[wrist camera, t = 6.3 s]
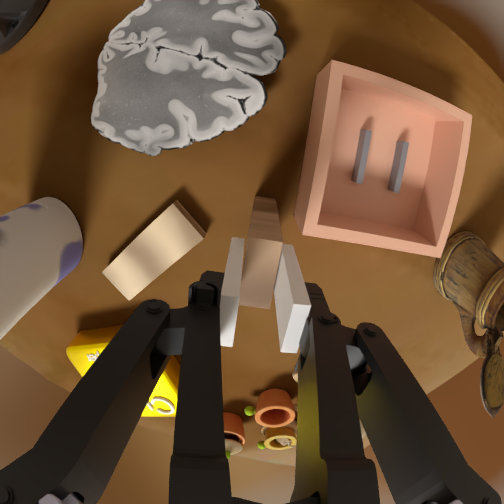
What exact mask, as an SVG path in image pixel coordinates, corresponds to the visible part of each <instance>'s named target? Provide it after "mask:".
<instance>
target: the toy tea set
mask: <svg viewBox="0 0 504 504" xmlns="http://www.w3.org/2000/svg"><path fill="white" fill-rule="evenodd" d="M292 375H293V379H294V380H295V381H296V382H298V371H295V372H293V374H292ZM244 411H245V414H246V415H248V416H251V415H254V414H255V420H256V422H257V423H258V424H260V425H262V428H261V432H262V434H263V435H264V436H265V440H264V441H260V442H258V444H257V446H258V448H260V449H264V448H265V447H267V448H269V449H273V450H284V449H288V448H291V447H292V448H293V447H294V446H295V445H296V443H297V438H296V435H297V421H295V420H294V418H295V411H298V404H292V401H291V398H290V395H289V393H288V392H286V391H285V390H282V389H269V390H266V391H264V392H262V393H261V394H260V396H259V398H258V403H257V408H256V409H255V408H254V407H253V406H247V407H246V408H245V410H244ZM223 416H224V434H225V450H226V457H227V459H229V458H230V455H233V454H236V453H238V452H240V451H241V450H242V445H243V444H244V443H245V435H244V428H243V422H242V418H241V417H240V416H239V415H237V414H234V413H229V412H223ZM359 421H360V418H359ZM360 427H361V434H362V439H363V438H364V437H365V436H366V432H365V430H364V428H363V425H362V423H361V421H360Z"/></svg>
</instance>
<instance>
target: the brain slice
mask: <svg viewBox="0 0 504 504" xmlns="http://www.w3.org/2000/svg"><path fill="white" fill-rule="evenodd" d="M278 29H279V28H278V24H277V22H276V20H275V19H274V17H273V16H272V15H271V14H270V13H269V12H267V11H266V10H263V9H261V8H260V6H259V2H258V0H145V1H144V3H143V4H142V5H141V6H139V7H138V8H136V9H135V10H134V11H132V12H131V13H130V14H129V15H128V16H127V17H126V18H125V19H124V20H123V21H122V22H120V23H119V24H118V25H117V26H116V27H115V28H114V29H113V30H112V31H111V32H110V34H109V37H108V39H109V41H108V42H106V43H105V45H104V48H103V49H102V51H101V53H100V56H99V58H98V92H97V95H96V98H95V100H94V103H93V110H92V114H91V123H92V125H93V127H94V128H95V129H96V130H97V131H98V132H99V133H100V134H101V135H103V136H104V137H105V138H107V139H108V140H110V141H112V142H114V143H119V144H121V145H123V146H125V147H127V148H130V149H132V150H135V151H137V152H140V153H146V154H148V155H150V156H155V155H158V154H160V153H161V151H162V149H165V150H171V149H177V148H186V147H187V146H189V145H191V144H193V142H195V141H200V142H202V141H208V140H211V139H213V138H215V137H217V136H219V135H221V134H222V133H223V132H225V131H233V130H235V129H237V128H238V127H240V126H242V125H243V124H244V123H245V122H246V121H247V120H248V118H249V117H250V116H253V115H255V114H256V113H258V112H259V111H260V110H261V109H262V108H263V107H264V105H265V104H266V101H267V92H266V88H265V85H264V84H263V83H262V82H261V81H260V80H259V79H258V78H256V77H254V76H252V75H258V76H262V75H267V74H271V73H274V72H275V71H276V69H278V67H279V64H280V61H281V60H282V59H283V58H284V57H285V55H286V45H285V43H284V41H283V40H282V38H281V37H280V36H278V35H277V34H276V33H277V31H278Z"/></svg>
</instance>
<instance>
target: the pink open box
mask: <svg viewBox="0 0 504 504" xmlns="http://www.w3.org/2000/svg"><path fill="white" fill-rule="evenodd" d="M471 123H472V115H470V114H468V113H467V112H465V111H463V110H461V109H459V108H457V107H455V106H454V105H452V104H450V103H448V102H446V101H444V100H442V99H439V98H437V97H435V96H433V95H431V94H429V93H427V92H424V91H422V90H420V89H417V88H415V87H413V86H410V85H408V84H405V83H403V82H400V81H398V80H395V79H392V78H390V77H387V76H384V75H381V74H378V73H375V72H372V71H369V70H366V69H363V68H360V67H357V66H353V65H350V64H346V63H343V62H339V61H335V60H331V61H330V62H329V63H328V64H327V65H326V66H325V67H324V68H323V69H322V70H321V71H320V72H319V73H318V74H317V75H316V82H315V89H314V96H313V103H312V109H311V116H310V122H309V128H308V135H307V141H306V147H305V153H304V159H303V164H302V170H301V176H300V182H299V187H298V193H297V198H296V204H295V209H294V214H293V215H294V217H295V219H296V222H297V224H298V226H299V228H300V231H301V233H302V235H307V236H314V237H320V238H327V239H333V240H339V241H345V242H351V243H358V244H364V245H370V246H375V247H381V248H387V249H393V250H399V251H404V252H410V253H415V254H421V255H426V256H432V257H437V258H441V256H442V253H443V250H444V247H445V244H446V240H447V237H448V234H449V231H450V227H451V224H452V220H453V217H454V213H455V209H456V205H457V201H458V197H459V193H460V189H461V184H462V180H463V175H464V170H465V164H466V159H467V153H468V146H469V139H470V131H471Z"/></svg>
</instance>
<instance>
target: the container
mask: <svg viewBox="0 0 504 504" xmlns="http://www.w3.org/2000/svg"><path fill="white" fill-rule="evenodd" d="M82 251H83V240H82V234H81V230H80V227H79V224H78V222H77V220H76V218H75V216H74V214H73V213H72V211H71V210H70V209H69V208H68V207H67V206H66V205H65V204H64V203H63V202H61V201H60V200H58V199H56V198H53V197H43V198H41V199H38V200H36V201H33V202H31V203H29V204H26V205H24V206H22V207H19V208H17V209H15V210H13V211H10V212H8V213H6V214H4V215H2V216H0V339H1V338H2V337H3V336H4V335H5V334H6V333H7V332H8V331H9V330H10V329H11V328H12V327H13V326H14V325H15V324H16V323H17V322H18V321H19V320H20V319H21V318H22V317H23V316H24V315H25V314H26V313H27V312H28V311H29V310H30V309H31V308H32V307H33V306H34V305H35V304H36V303H37V302H38V301H39V300H40V299H41V298H42V297H43V296H44V295H45V294H46V293H47V292H49V291H50V290H51V289H52V288H53V287H54V286H55V285H56V284H57V283H58V282H60V281H61V280H62V279H63V278H64V277H65V276H66V275H67V274H69V273H70V272H71V271H72V270H73V269H74V268H75V267H76V266H77V265H78V263H79V262H80V259H81V256H82Z"/></svg>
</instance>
